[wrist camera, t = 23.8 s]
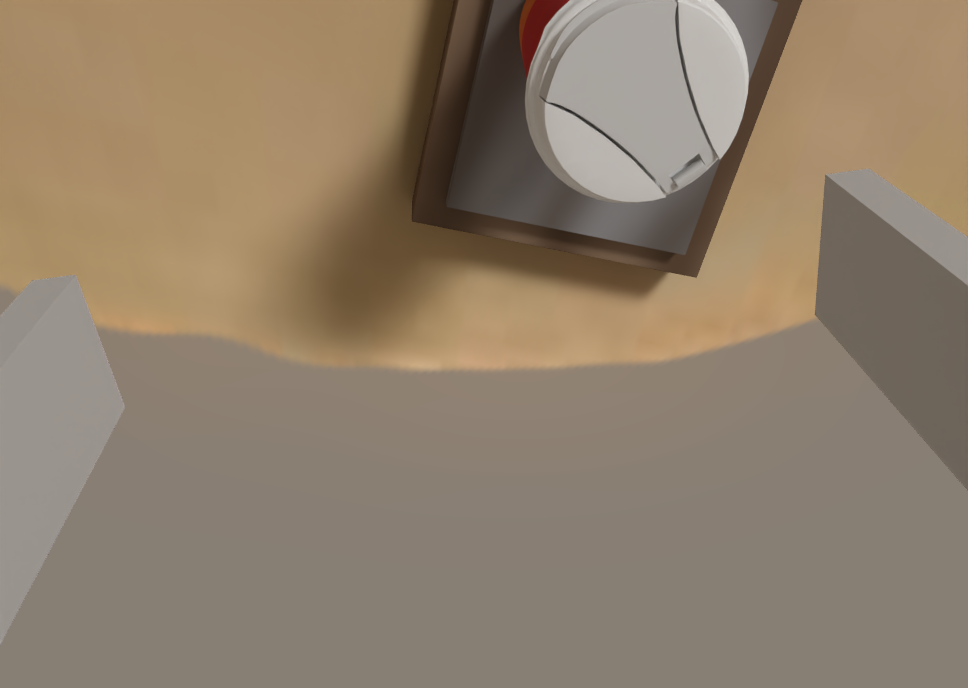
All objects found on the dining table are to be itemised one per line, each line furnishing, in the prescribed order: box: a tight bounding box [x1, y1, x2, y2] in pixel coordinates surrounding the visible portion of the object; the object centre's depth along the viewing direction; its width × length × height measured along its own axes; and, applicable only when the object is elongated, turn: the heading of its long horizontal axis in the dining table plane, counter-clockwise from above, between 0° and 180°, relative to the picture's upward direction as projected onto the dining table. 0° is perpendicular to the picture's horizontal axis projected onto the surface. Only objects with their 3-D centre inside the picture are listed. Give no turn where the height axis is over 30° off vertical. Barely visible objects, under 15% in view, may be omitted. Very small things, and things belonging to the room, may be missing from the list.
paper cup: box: [519, 0, 749, 203], centre depth 35 cm, size 8×8×14 cm
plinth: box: [412, 0, 802, 278], centre depth 45 cm, size 16×16×4 cm
